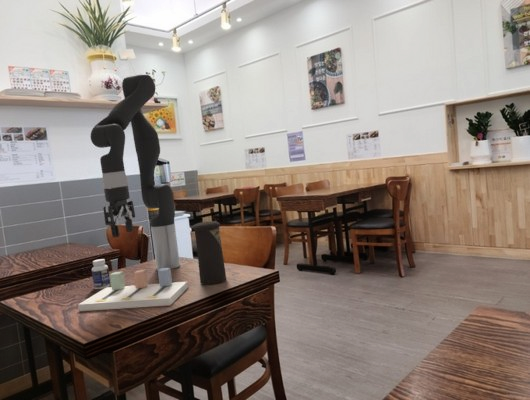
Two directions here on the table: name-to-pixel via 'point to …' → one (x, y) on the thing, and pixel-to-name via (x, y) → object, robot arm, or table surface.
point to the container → (209, 253)
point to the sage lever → (117, 280)
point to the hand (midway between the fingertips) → (123, 234)
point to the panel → (134, 297)
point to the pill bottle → (100, 274)
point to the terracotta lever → (141, 278)
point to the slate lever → (165, 276)
